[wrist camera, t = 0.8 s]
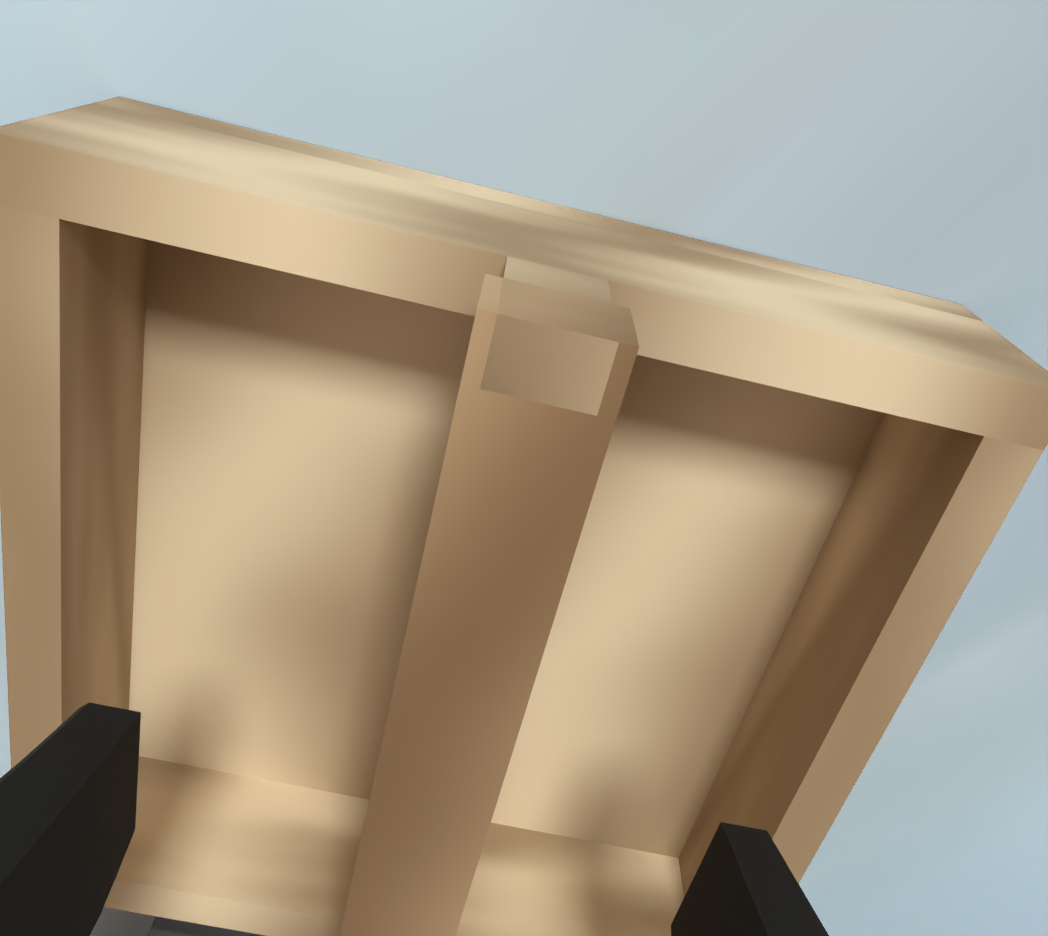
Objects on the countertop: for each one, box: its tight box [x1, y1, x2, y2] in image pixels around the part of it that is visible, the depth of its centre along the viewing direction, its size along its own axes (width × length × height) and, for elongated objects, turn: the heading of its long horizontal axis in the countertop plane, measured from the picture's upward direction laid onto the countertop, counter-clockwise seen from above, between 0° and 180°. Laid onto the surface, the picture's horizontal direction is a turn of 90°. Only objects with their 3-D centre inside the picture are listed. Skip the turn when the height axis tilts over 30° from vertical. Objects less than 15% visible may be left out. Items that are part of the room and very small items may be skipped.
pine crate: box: [0, 97, 1048, 936], centre depth 14 cm, size 13×13×6 cm
